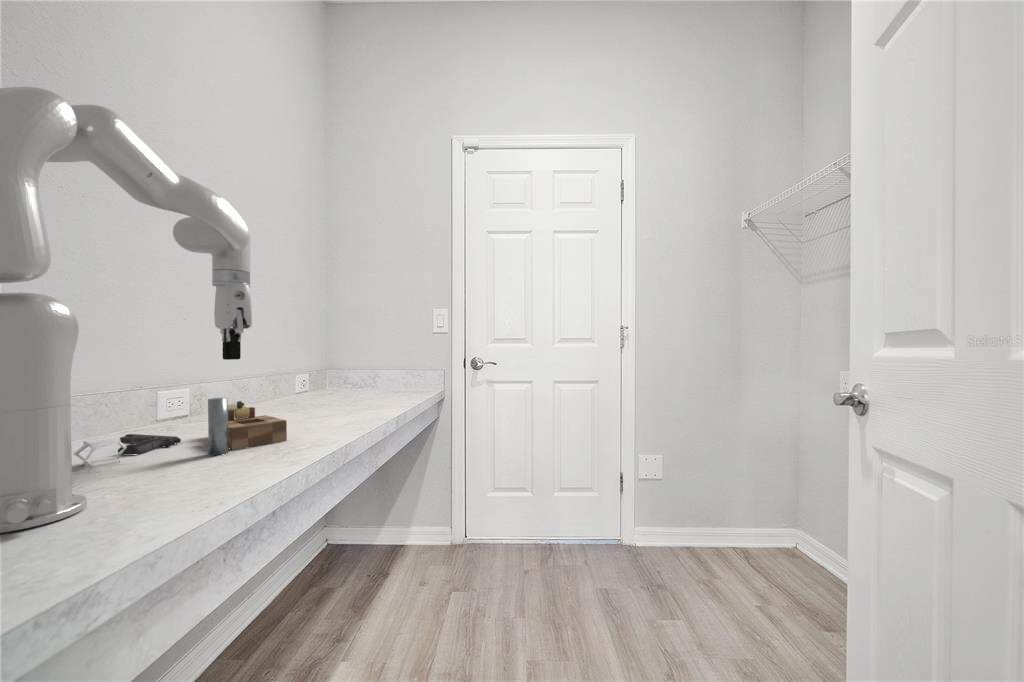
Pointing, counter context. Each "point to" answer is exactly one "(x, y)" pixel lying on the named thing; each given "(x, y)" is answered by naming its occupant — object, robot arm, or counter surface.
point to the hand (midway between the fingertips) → (231, 359)
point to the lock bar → (240, 410)
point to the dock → (255, 430)
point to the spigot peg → (218, 426)
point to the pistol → (146, 442)
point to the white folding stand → (98, 444)
